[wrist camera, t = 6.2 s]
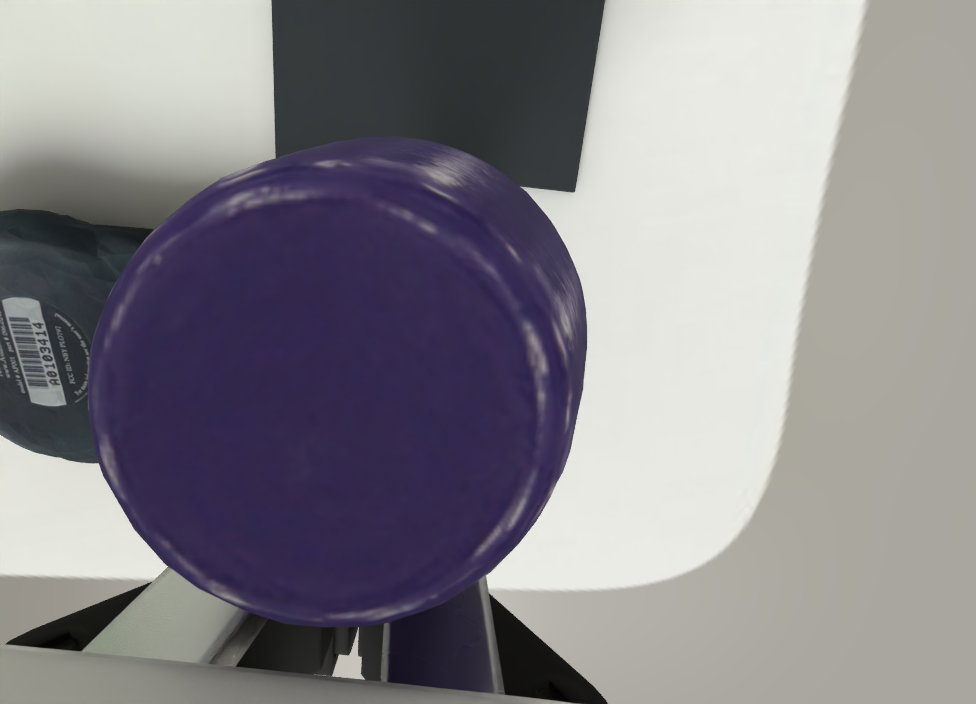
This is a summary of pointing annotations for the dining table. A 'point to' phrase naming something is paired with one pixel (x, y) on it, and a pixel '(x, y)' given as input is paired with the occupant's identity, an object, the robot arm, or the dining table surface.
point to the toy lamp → (341, 380)
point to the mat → (441, 78)
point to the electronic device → (53, 324)
